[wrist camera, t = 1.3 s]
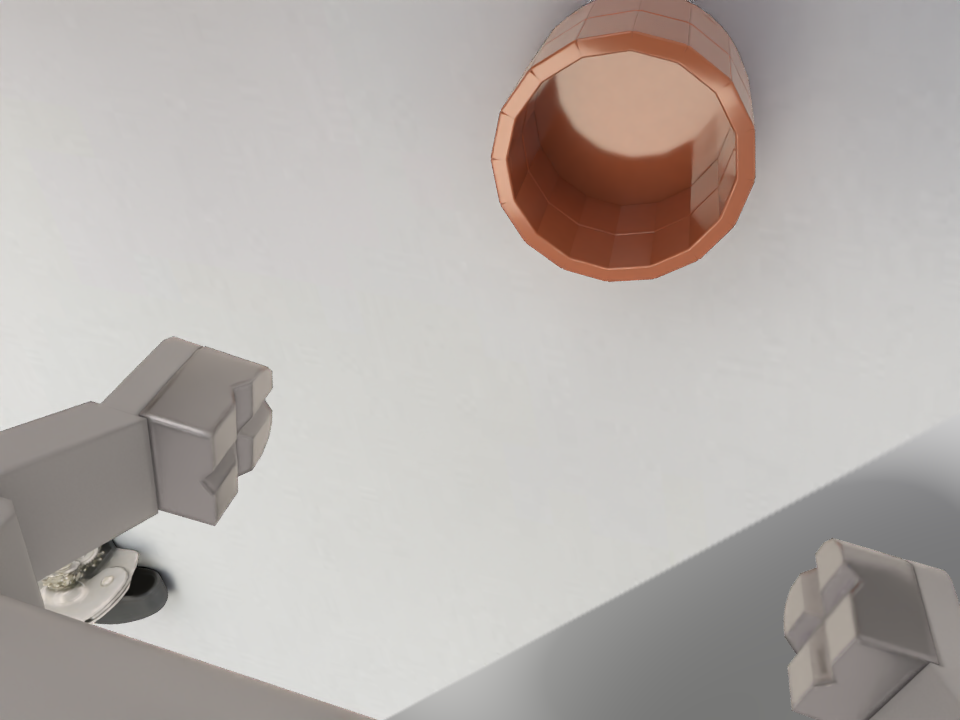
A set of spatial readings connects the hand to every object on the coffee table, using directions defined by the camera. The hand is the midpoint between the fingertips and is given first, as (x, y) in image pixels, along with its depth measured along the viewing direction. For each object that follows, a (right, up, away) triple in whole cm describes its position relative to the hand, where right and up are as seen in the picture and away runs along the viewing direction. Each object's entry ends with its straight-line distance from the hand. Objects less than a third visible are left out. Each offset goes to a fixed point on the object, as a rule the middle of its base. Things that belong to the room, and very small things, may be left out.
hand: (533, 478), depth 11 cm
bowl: (+4, +9, +12) cm, 15 cm away
